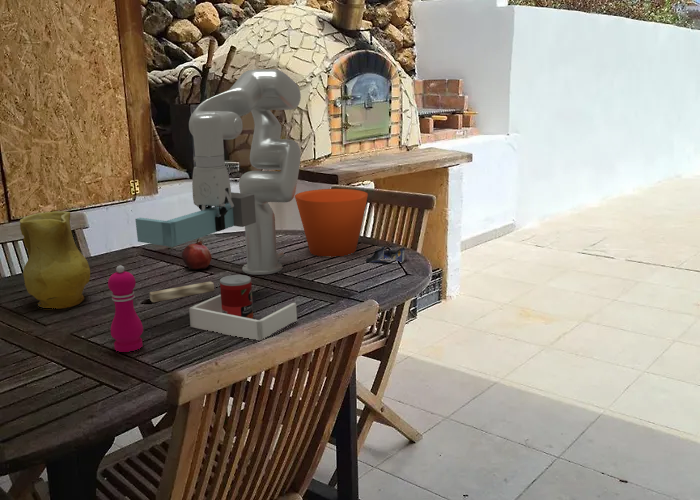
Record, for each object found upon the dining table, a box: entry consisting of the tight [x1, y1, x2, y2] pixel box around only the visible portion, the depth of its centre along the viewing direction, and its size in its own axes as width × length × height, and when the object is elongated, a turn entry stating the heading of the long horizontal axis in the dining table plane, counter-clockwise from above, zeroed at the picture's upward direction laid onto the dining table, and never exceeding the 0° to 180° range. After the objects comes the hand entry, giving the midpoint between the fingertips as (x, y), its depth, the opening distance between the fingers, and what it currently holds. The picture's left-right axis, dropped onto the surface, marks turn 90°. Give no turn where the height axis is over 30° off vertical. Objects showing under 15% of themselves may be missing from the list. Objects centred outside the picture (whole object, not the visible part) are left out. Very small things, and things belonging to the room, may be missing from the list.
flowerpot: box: [294, 188, 369, 258], centre depth 243 cm, size 25×25×20 cm
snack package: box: [365, 246, 406, 264], centre depth 231 cm, size 12×6×12 cm
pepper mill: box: [107, 265, 144, 353], centre depth 161 cm, size 7×7×20 cm
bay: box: [188, 293, 298, 340], centre depth 176 cm, size 15×22×5 cm
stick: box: [149, 280, 215, 303], centre depth 200 cm, size 18×3×3 cm, turn 121°
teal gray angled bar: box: [135, 191, 256, 248], centre depth 188 cm, size 30×15×8 cm, turn 150°
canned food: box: [219, 274, 254, 319], centre depth 179 cm, size 8×8×11 cm
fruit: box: [181, 238, 213, 271], centre depth 226 cm, size 9×10×10 cm
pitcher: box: [19, 210, 91, 310], centre depth 194 cm, size 17×19×25 cm
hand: (215, 229), depth 190 cm, fingers closed on teal gray angled bar, 3 cm apart
